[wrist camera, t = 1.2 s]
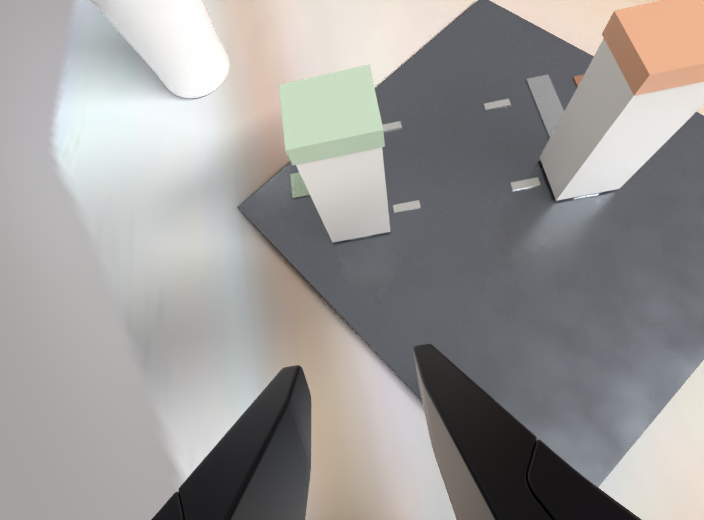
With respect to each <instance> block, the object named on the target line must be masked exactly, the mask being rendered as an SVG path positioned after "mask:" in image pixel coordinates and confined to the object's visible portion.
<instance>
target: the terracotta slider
mask: <svg viewBox="0 0 704 520" xmlns="http://www.w3.org/2000/svg"><path fill="white" fill-rule="evenodd" d="M602 35H603V37H604V39H603V41H602V43H601V45H600V46H599V48H598V50H597V52H596V54H595V56H594V58H593V59H592V61H591V63H590V65H589V67H588V69H587V70H586V72H585V74H584V76H583V78H582V80H581V82H580V83H579V85H578V87H577V89H576V91H575V93H574V94H573V96H572V98H571V100H570V102H569V104H568V106H567V107H566V109H565V111H564V113H563V115H562V117H561V118H560V120H559V122H558V124H557V126H556V128H555V130H554V131H553V133H552V135H551V137H550V139H549V141H548V142H547V144H546V146H545V148H544V150H543V152H542V154H541V155H540V160H541V162H542V165H543V168H544V170H545V173H546V176H547V178H548V181H549V183H550V186H551V189H552V191H553V194H554V197H555V199H556V201H557V200H563V199H568V198H573V197H579V196H584V195H589V194H595V193H600V192H605V191H611V190H616V189H620V188H621V187H622V186H623V185H624V184H625V183H626V182H627V181H628V180H629V179H630V178H631V177H632V176H633V175H634V174H635V173H636V172H637V171H638V170H639V169H640V168H641V167H642V166H643V165H644V164H645V163H646V162H647V161H648V160H649V159H650V158H651V157H652V156H653V155H654V154H655V153H656V152H657V151H658V150H659V149H660V148H661V147H662V146H663V145H664V144H665V143H666V142H667V141H668V140H669V139H670V138H671V137H672V136H673V135H674V134H675V133H676V132H677V131H678V130H679V129H680V128H681V127H682V126H683V125H684V124H685V123H686V122H687V121H688V120H689V119H690V118H691V117H692V116H693V115H694V114H695V113H696V112H697V111H698V110H699V109H700V108H701V107H702V106H703V105H704V0H661V1H656V2H652V3H647V4H643V5H638V6H634V7H629V8H625V9H620V10H615V11H614V12H613V14H612V16H611V18H610V20H609V22H608V24H607V26H606V28H605V29H604V31H603V33H602Z"/></svg>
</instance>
